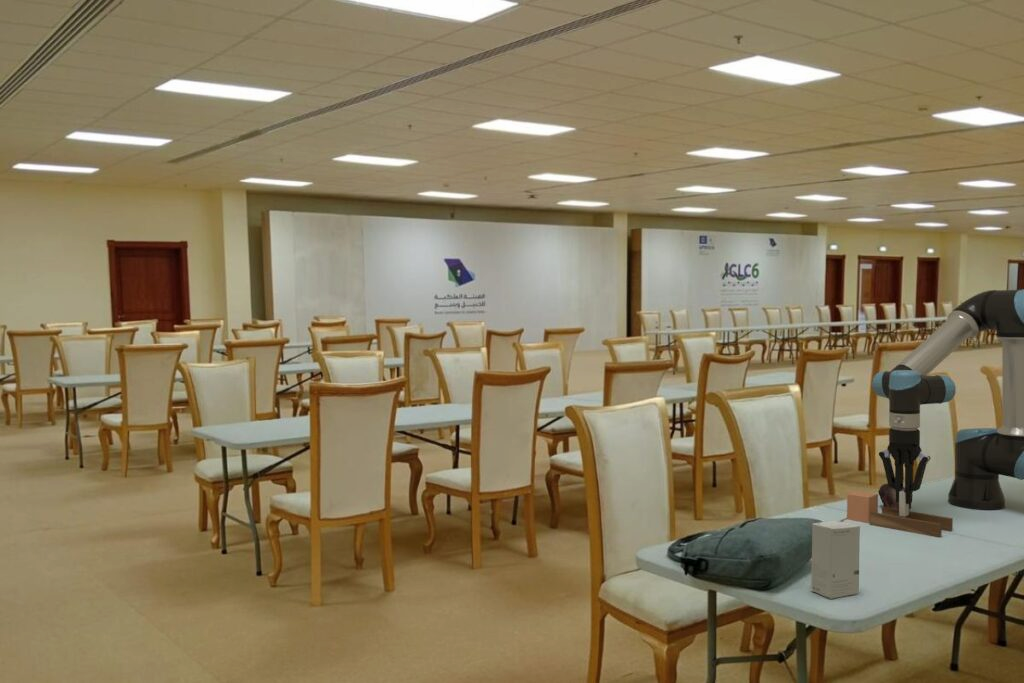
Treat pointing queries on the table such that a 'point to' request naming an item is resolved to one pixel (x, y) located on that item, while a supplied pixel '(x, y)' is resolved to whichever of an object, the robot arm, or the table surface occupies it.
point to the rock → (889, 497)
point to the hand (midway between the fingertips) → (903, 515)
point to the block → (861, 505)
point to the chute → (911, 522)
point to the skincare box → (835, 559)
